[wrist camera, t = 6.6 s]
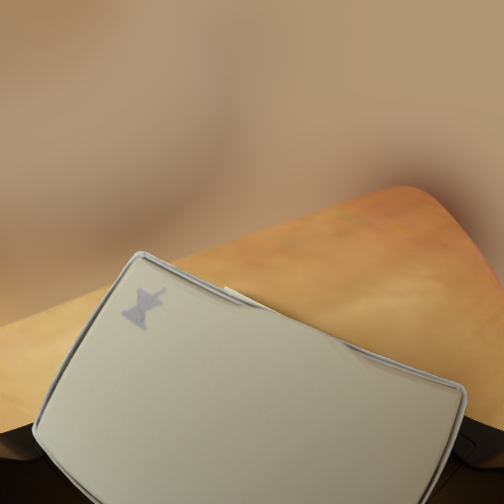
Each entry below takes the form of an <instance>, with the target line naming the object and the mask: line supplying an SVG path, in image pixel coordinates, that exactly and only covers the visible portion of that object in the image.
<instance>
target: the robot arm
mask: <svg viewBox="0 0 504 504" xmlns="http://www.w3.org/2000/svg"><path fill="white" fill-rule="evenodd" d="M33 424H34V422H33V423H31V424H28V425H25V426H22V427H19V428H16V429H13V430H10V431H7V432H4V433H0V504H95V503H94V502H92V501H91V500H90V499H89V498H88V497H87V496H86V495H85V494H84V493H83V492H82V491H81V490H80V489H78V488H77V487H76V486H75V485H74V484H73V483H72V482H71V481H70V480H69V478H68V477H67V476H66V475H65V474H64V473H63V472H62V471H61V470H60V469H59V468H58V466H57V465H56V464H55V463H54V462H53V461H52V460H51V458H50V457H49V456H48V454H47V453H46V452H45V451H44V449H43V448H42V447H41V446H40V445H39V443H38V442H37V441H36V439H35V437H34V436H33V432H32V427H33ZM425 504H504V431H502V430H499V429H497V428H494V427H491V426H488V425H485V424H483V423H480V422H478V421H476V420H473V419H471V418H469V417H467V416H465V415H464V417H463V420H462V423H461V426H460V429H459V431H458V434H457V437H456V440H455V442H454V445H453V447H452V450H451V453H450V455H449V457H448V460H447V462H446V464H445V466H444V468H443V470H442V472H441V474H440V477H439V479H438V481H437V483H436V484H435V486H434V488H433V490H432V492H431V493H430V495H429V497H428V499H427V501H426V502H425Z"/></svg>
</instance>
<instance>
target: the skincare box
mask: <svg viewBox="0 0 504 504" xmlns="http://www.w3.org/2000/svg"><path fill="white" fill-rule="evenodd" d="M467 403H468V393H467V390H466V389H465V387H464V386H463V385H462V384H460V383H459V382H454V381H451V380H448V379H445V378H443V377H440V376H437V375H434V374H431V373H428V372H426V371H423V370H420V369H417V368H415V367H412V366H409V365H406V364H403V363H401V362H398V361H395V360H392V359H390V358H387V357H384V356H382V355H379V354H376V353H374V352H371V351H368V350H365V349H362V348H360V347H357V346H355V345H353V344H351V343H348V342H346V341H344V340H342V339H339V338H337V337H334V336H332V335H330V334H327V333H325V332H322V331H320V330H317V329H315V328H313V327H311V326H308V325H306V324H304V323H301V322H299V321H296V320H294V319H291V318H289V317H286V316H284V315H281V314H278V313H276V312H273V311H271V310H269V309H266V308H264V307H261V306H259V305H256V304H254V303H252V302H249V301H247V300H245V299H243V298H241V297H239V296H236V295H234V294H232V293H230V292H228V291H226V290H224V289H222V288H220V287H218V286H215V285H213V284H211V283H209V282H206V281H204V280H202V279H200V278H198V277H196V276H194V275H192V274H190V273H188V272H186V271H184V270H182V269H180V268H177V267H175V266H173V265H171V264H169V263H167V262H165V261H162V260H160V259H158V258H157V257H155V256H153V255H151V254H150V253H148V252H145V251H139V252H137V253H135V254H134V256H133V257H132V258H131V259H130V261H129V262H128V263H127V265H126V266H125V267H124V269H123V270H122V272H121V273H120V275H119V276H118V278H117V280H116V281H115V282H114V284H113V285H112V286H111V287H110V289H109V290H108V291H107V292H106V294H105V295H104V297H103V298H102V300H101V302H100V303H99V305H98V306H97V307H96V309H95V310H94V312H93V313H92V315H91V316H90V318H89V319H88V321H87V322H86V324H85V326H84V327H83V329H82V331H81V332H80V334H79V336H78V337H77V339H76V340H75V342H74V344H73V345H72V347H71V349H70V350H69V352H68V353H67V355H66V357H65V359H64V361H63V362H62V364H61V366H60V368H59V370H58V372H57V374H56V375H55V377H54V379H53V381H52V383H51V385H50V387H49V389H48V391H47V393H46V395H45V398H44V400H43V403H42V406H41V408H40V410H39V413H38V416H37V418H36V420H35V422H34V424H33V427H32V432H33V436H34V437H35V439H36V441H37V442H38V443H39V445H40V446H41V447H42V448H43V449H44V451H45V452H46V453H47V454H48V456H49V457H50V458H51V460H52V461H53V462H54V463H55V464H56V465H57V466H58V468H59V469H60V470H61V471H62V472H63V473H64V474H65V475H66V476H67V477H68V478H69V480H70V481H71V482H72V483H73V484H74V485H75V486H76V487H77V488H78V489H80V490H81V491H82V492H83V493H84V494H85V495H86V496H87V497H88V498H89V499H90V500H91V501H92V502H94V503H95V504H425V502H426V501H427V499H428V497H429V495H430V493H431V492H432V490H433V488H434V486H435V484H436V483H437V481H438V479H439V477H440V474H441V472H442V470H443V468H444V466H445V464H446V462H447V460H448V457H449V455H450V453H451V450H452V447H453V445H454V442H455V440H456V437H457V434H458V431H459V429H460V426H461V423H462V420H463V417H464V414H465V410H466V407H467Z"/></svg>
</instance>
